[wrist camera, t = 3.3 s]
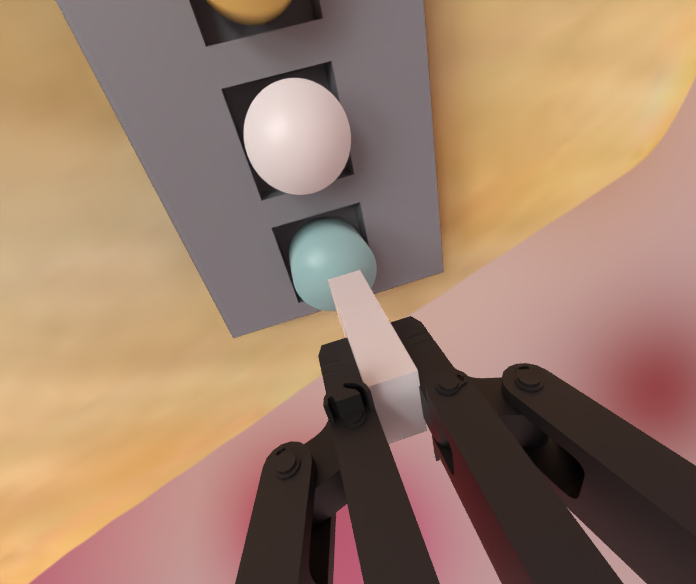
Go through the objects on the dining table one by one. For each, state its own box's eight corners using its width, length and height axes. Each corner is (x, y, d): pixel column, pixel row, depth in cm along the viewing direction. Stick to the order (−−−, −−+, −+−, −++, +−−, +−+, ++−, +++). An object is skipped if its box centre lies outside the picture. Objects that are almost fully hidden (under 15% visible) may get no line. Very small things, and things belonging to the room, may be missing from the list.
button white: (231, 95, 15) (225, 93, 12) (325, 71, 15) (337, 65, 13) (265, 192, 17) (265, 206, 15) (346, 169, 17) (360, 179, 15)
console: (30, -106, 13) (-28, -158, 10) (379, -175, 14) (406, -238, 11) (236, 312, 23) (233, 338, 21) (424, 254, 24) (443, 272, 22)
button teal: (278, 229, 18) (281, 248, 16) (354, 207, 19) (368, 222, 16) (301, 295, 21) (306, 320, 18) (368, 274, 21) (382, 296, 19)
